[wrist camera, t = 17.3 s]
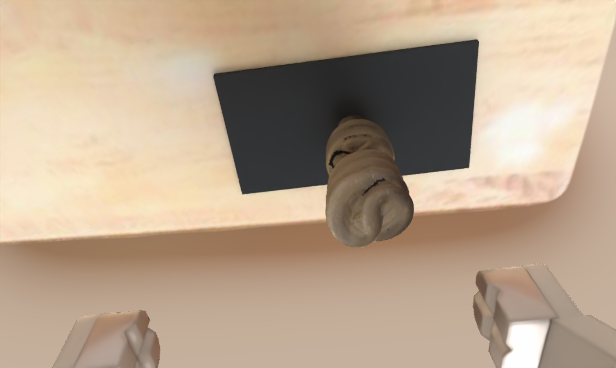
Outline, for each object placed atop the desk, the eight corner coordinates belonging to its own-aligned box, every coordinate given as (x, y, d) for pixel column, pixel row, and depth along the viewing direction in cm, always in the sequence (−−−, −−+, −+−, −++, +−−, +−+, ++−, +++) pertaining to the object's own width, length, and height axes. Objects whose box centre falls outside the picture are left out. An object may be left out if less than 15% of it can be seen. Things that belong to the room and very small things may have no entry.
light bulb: (322, 155, 41) (333, 266, 28) (313, 100, 38) (321, 195, 26) (382, 146, 41) (421, 254, 28) (378, 90, 38) (419, 181, 25)
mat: (242, 191, 44) (242, 194, 43) (214, 73, 37) (213, 75, 37) (467, 165, 43) (469, 168, 42) (477, 39, 36) (479, 40, 36)
